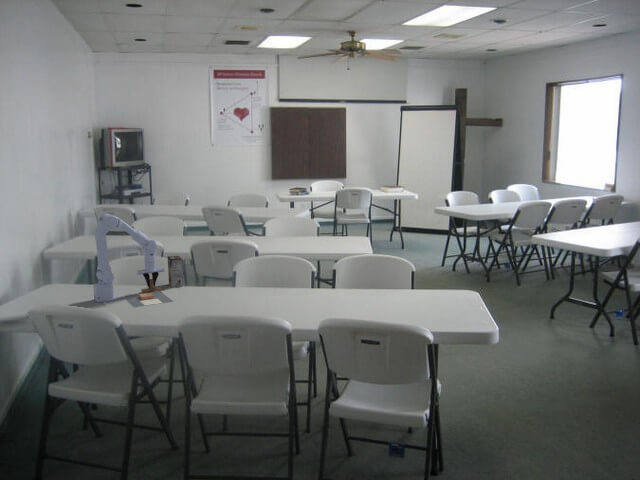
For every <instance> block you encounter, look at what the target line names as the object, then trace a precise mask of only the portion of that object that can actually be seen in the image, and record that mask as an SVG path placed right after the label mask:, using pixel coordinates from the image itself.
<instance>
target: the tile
mask: <svg viewBox="0 0 640 480" xmlns="http://www.w3.org/2000/svg"><path fill="white" fill-rule="evenodd" d="M151 293H152V292H149V293H140V294H138V295H139V298H140V299H142V300H145V299H153V298H154V295H152V294H151Z"/></svg>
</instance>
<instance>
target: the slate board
mask: <svg viewBox="0 0 640 480" xmlns="http://www.w3.org/2000/svg"><path fill="white" fill-rule="evenodd" d="M150 293H151V294H152V295H154V298H153V299H145V300H142V299H140V298H139V294H133V295H126V296H122V298H123V299H125V300H126V302H128V303H129V304H130V305H131V306H132V307H133V308H138V307H139V308H140V307H147V306H154V305H159V304H160V305H162V304H166V303H173V302H174V300H172V299H171V298H170V297H168V296H167V295H165V294H164V293H163V292H162V291H156V292H150Z"/></svg>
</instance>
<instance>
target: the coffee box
mask: <svg viewBox="0 0 640 480" xmlns="http://www.w3.org/2000/svg"><path fill="white" fill-rule="evenodd" d="M167 271H168V284H169V286H171V288H172V287H173V288H174V287H175V288H179V287H180V288H181V287H184V284H183V282H184V279H183V278H184V277H183V258H182V257H181V256H179V255H169V256H168V255H167Z"/></svg>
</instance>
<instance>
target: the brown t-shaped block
mask: <svg viewBox="0 0 640 480" xmlns="http://www.w3.org/2000/svg"><path fill="white" fill-rule="evenodd" d="M155 291H156V292H162V287H161V286H157V287H156V286H154V280H153V279H152V278H150V287H148V288H142V289H141V294H145V293H155Z"/></svg>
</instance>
